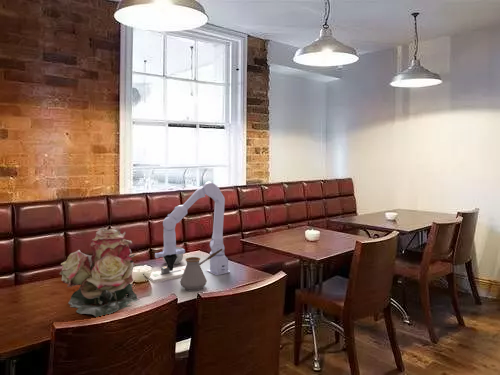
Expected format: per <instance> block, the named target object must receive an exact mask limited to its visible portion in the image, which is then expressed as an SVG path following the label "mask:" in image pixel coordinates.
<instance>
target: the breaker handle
mask: <svg viewBox="0 0 500 375" xmlns="http://www.w3.org/2000/svg"><path fill="white" fill-rule="evenodd" d="M160 270H161V273H162V274H168V273H170V268H169V267H168V266H167V265H166V266H162V267H160Z"/></svg>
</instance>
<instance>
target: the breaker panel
mask: <svg viewBox="0 0 500 375" xmlns="http://www.w3.org/2000/svg"><path fill="white" fill-rule="evenodd" d="M185 268H186V265H183V266H177V267H176V266H175V267H173V271H170V273H168V274H162V273H161V269H160V270H156V271H152V273H151V276H150V280H149V281H151V282H152V283H159V282H163V281H168V280H172V279H179V278H182V276H183V273H184V270H185Z"/></svg>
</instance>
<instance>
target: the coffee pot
mask: <svg viewBox="0 0 500 375" xmlns="http://www.w3.org/2000/svg"><path fill="white" fill-rule="evenodd" d="M220 251H222V249H220V250H219V251H217V252H215V253H213V254H212V255H210V254H209V256H208V257H206V258H205V259H204V260H201V258H200V257H196V256H191V257H187V258H185V260H184V261H186V265H185V266H186V268H185V270H184V273H183V276H182V277H180V281H179V283H180V286H181V287H182V288H183V289H184V290H185V291H188V292H196V291H199V290H202V289H203V288H204V287H205V286H206V284H207V281H208V280H207V278H206V276H205V273H204V272H203V270H202V268H201V265H203V264H204V263H206V262H207V261H210V258H212V257H214V256H215V255H216V254H217V253H219V252H220ZM223 251H224V252H225V249H224V250H223ZM224 252H223V253H224ZM224 254H225V253H224Z"/></svg>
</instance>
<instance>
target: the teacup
mask: <svg viewBox="0 0 500 375" xmlns="http://www.w3.org/2000/svg"><path fill="white" fill-rule="evenodd" d="M176 249H184V248H183V247H182V246H176ZM163 251H164V247H163V248H162V252H163ZM176 256H177V259H176V261H175V263H174V265H179V263H181V262H182V261H183V259H184V254H176ZM162 260H163V261H164V262H165V263H166V261H165V259H164V257H162Z"/></svg>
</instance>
